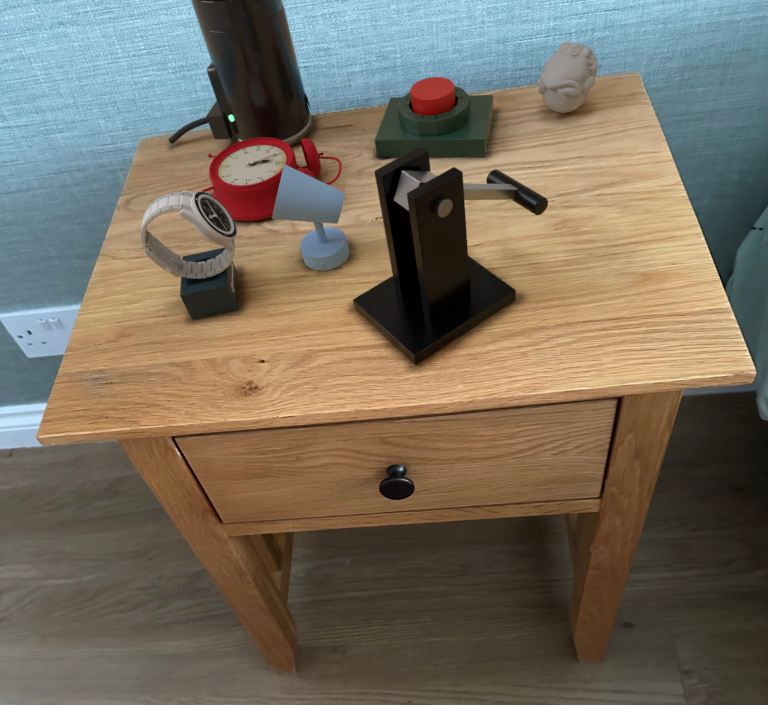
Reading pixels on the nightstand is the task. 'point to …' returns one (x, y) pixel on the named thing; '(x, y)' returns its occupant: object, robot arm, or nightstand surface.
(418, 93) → the button
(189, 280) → the watch
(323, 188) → the spotlight
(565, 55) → the grey rounded piece
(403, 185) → the lever
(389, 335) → the bracket
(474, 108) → the button block
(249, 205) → the alarm clock
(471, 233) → the nightstand surface
